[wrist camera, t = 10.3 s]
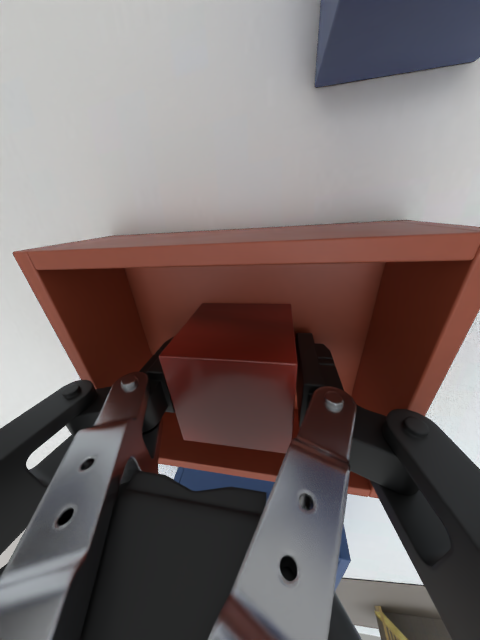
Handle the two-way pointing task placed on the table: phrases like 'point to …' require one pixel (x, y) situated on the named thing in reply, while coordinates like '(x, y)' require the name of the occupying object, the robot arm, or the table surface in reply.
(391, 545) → the table surface
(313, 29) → the table surface
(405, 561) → the table surface
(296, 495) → the robot arm
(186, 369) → the red block
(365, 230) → the terracotta bin
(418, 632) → the architectural model
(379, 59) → the navy block
